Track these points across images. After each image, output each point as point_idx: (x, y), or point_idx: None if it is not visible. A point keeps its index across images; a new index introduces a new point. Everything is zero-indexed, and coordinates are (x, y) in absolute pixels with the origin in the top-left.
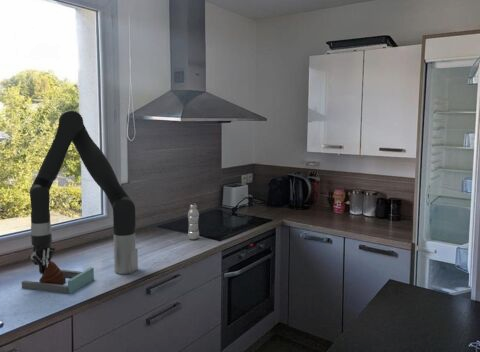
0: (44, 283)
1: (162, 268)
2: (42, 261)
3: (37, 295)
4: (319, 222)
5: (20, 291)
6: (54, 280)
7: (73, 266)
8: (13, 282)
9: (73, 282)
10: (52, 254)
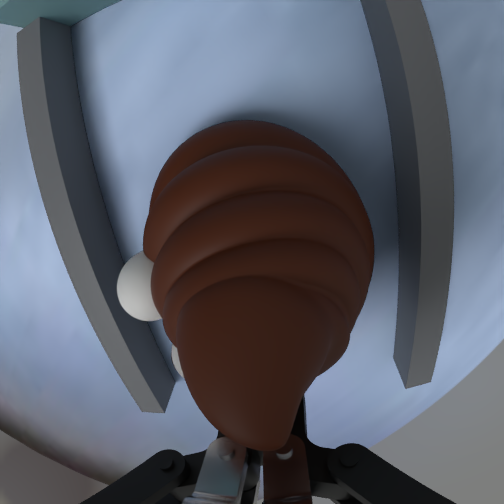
0: (434, 192)
1: None
2: (308, 486)
3: (495, 150)
4: None
5: (464, 313)
6: (325, 161)
7: (18, 329)
8: (351, 433)
9: None
10: (99, 497)
